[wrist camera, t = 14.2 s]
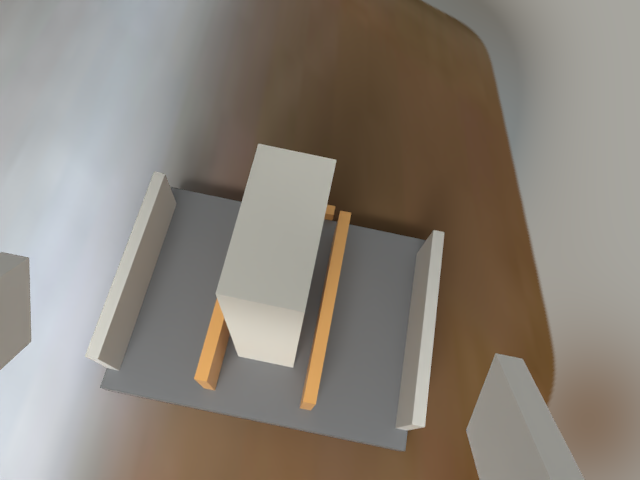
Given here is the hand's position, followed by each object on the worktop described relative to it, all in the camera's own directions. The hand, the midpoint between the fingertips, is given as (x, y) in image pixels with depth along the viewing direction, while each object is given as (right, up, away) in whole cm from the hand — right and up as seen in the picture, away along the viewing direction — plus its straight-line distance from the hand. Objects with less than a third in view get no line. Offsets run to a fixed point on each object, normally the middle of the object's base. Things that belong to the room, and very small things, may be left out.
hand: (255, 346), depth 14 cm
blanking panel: (-1, -1, +14) cm, 14 cm away
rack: (-1, -1, +15) cm, 15 cm away
